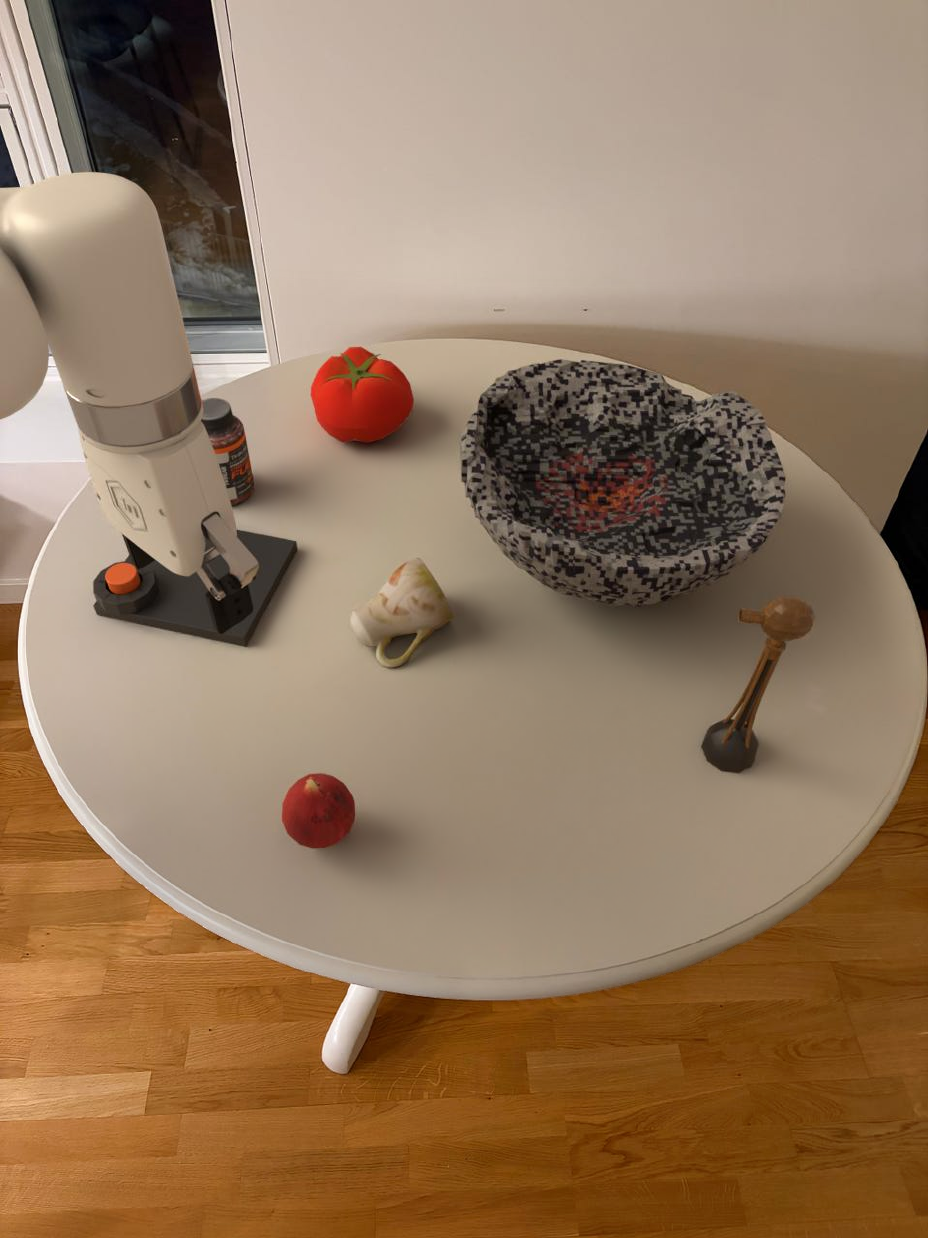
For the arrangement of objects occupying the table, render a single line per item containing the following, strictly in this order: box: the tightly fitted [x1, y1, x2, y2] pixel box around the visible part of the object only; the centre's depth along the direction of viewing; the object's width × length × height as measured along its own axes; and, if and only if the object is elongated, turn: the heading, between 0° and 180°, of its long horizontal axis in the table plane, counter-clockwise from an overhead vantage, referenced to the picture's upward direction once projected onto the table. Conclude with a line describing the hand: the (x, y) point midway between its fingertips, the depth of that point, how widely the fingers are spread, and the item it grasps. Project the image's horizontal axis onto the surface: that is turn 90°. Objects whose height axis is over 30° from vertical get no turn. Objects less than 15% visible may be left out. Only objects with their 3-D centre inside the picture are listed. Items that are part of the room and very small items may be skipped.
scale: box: [92, 528, 299, 648], centre depth 92 cm, size 16×14×3 cm
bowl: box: [460, 358, 787, 607], centre depth 92 cm, size 31×31×15 cm
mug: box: [349, 557, 455, 668], centre depth 88 cm, size 8×10×10 cm
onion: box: [281, 772, 357, 850], centre depth 72 cm, size 6×6×8 cm
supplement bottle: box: [201, 397, 255, 506], centre depth 99 cm, size 6×6×11 cm
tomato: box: [310, 346, 415, 443], centre depth 108 cm, size 13×12×8 cm
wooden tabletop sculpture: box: [700, 596, 816, 774], centre depth 74 cm, size 6×5×20 cm
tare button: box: [105, 563, 140, 595], centre depth 89 cm, size 3×3×2 cm
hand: (192, 588), depth 68 cm, fingers open, 9 cm apart
